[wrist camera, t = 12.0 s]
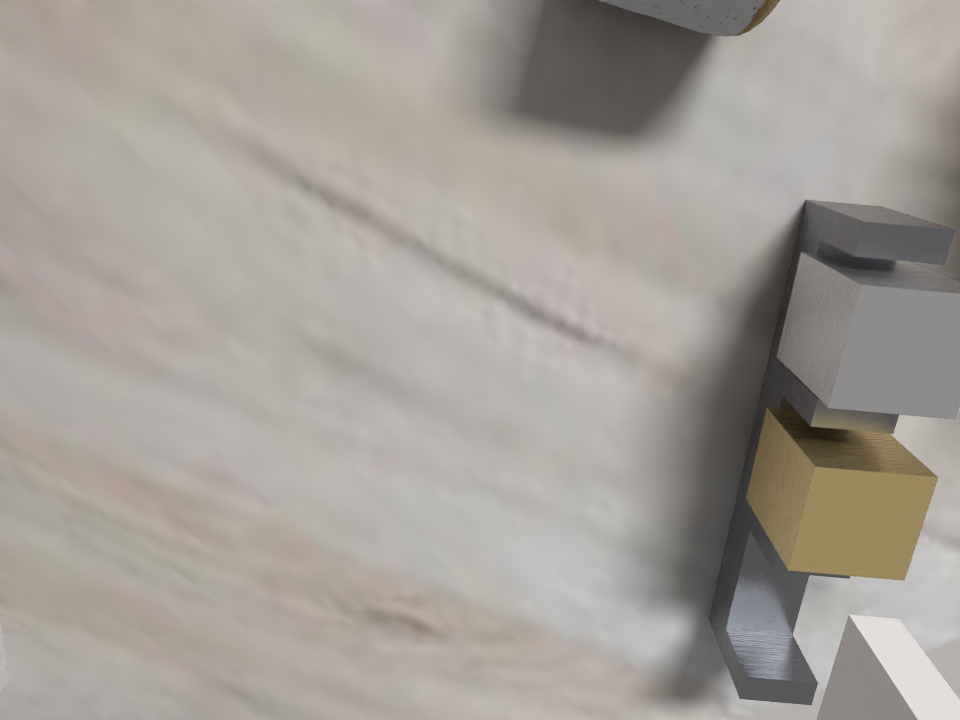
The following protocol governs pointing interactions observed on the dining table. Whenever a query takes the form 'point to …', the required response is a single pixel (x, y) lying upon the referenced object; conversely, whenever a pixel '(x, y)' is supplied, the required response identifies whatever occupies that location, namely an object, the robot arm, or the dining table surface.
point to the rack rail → (749, 552)
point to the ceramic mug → (704, 13)
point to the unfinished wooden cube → (838, 497)
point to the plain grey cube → (874, 335)
